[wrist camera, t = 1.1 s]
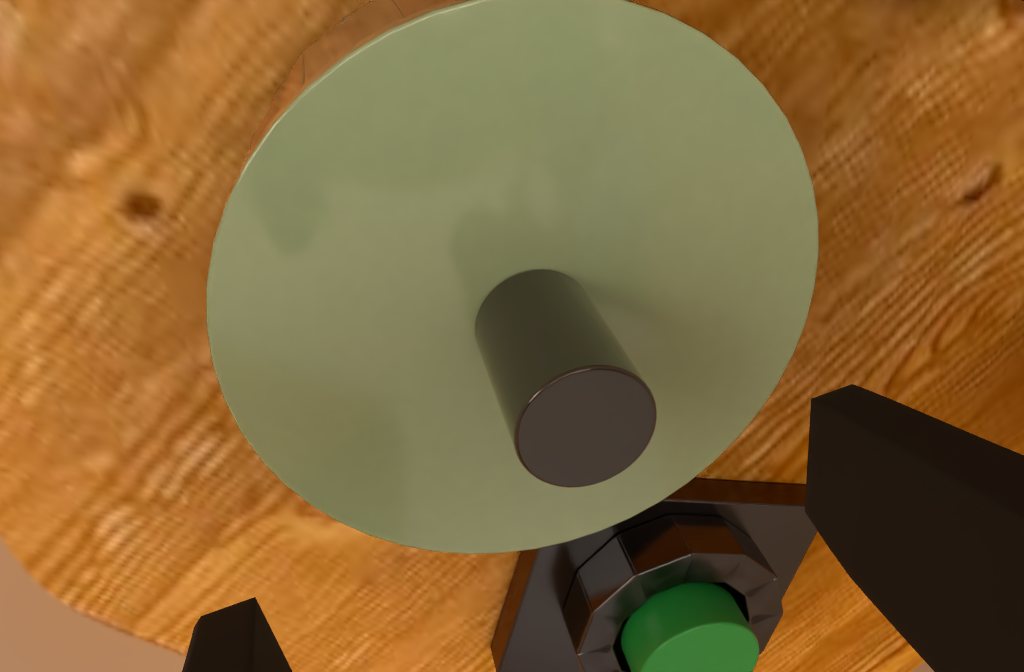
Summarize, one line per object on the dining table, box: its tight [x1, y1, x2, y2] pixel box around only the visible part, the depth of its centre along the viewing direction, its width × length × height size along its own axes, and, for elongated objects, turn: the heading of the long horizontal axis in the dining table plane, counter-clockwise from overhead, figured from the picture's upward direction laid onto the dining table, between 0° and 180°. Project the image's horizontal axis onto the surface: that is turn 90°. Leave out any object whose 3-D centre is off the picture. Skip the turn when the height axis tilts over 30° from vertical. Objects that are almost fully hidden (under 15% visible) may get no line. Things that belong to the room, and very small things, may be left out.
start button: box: [621, 582, 759, 672], centre depth 26 cm, size 4×4×2 cm
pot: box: [249, 0, 453, 152], centre depth 19 cm, size 11×11×5 cm
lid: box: [206, 0, 819, 554], centre depth 15 cm, size 12×12×5 cm
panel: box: [491, 479, 818, 672], centre depth 28 cm, size 10×8×3 cm
